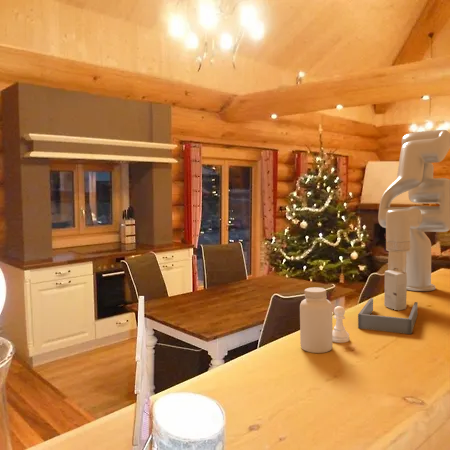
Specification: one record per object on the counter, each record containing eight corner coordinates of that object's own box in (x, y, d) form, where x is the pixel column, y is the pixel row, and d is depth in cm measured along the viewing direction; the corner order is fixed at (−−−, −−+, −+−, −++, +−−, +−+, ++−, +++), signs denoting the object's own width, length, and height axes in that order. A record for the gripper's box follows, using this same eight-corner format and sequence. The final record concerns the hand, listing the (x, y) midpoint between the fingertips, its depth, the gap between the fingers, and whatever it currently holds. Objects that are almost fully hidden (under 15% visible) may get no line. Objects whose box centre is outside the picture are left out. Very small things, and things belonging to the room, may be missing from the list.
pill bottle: (297, 351, 112) (296, 292, 111) (304, 341, 119) (303, 285, 118) (329, 355, 109) (329, 294, 108) (334, 344, 116) (334, 286, 115)
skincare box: (383, 306, 151) (382, 270, 149) (394, 303, 152) (394, 268, 150) (396, 311, 145) (395, 274, 143) (407, 308, 146) (407, 272, 145)
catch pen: (370, 310, 147) (370, 298, 146) (417, 314, 140) (417, 302, 140) (358, 328, 129) (358, 314, 129) (411, 334, 122) (411, 319, 122)
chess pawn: (326, 338, 121) (325, 305, 121) (342, 335, 123) (342, 303, 122) (336, 344, 117) (336, 309, 116) (353, 341, 118) (353, 307, 117)
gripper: (389, 242, 160) (389, 293, 162) (382, 249, 147) (382, 304, 149) (412, 243, 157) (412, 295, 159) (407, 249, 144) (407, 306, 146)
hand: (398, 299), depth 154 cm, fingers closed
